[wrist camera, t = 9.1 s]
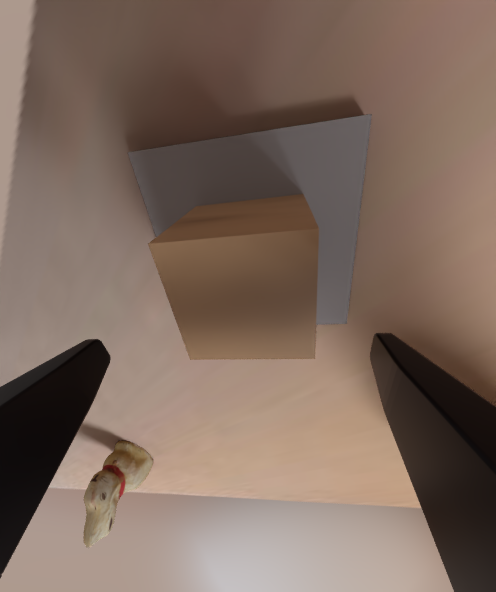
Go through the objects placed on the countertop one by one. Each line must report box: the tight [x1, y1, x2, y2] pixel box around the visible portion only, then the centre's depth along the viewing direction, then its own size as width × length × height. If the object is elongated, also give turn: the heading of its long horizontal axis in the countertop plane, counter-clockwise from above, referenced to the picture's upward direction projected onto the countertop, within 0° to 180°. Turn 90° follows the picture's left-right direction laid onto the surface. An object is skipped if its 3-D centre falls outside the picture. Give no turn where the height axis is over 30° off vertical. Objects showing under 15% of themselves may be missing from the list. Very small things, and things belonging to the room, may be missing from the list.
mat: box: [128, 114, 372, 325], centre depth 15 cm, size 12×12×1 cm
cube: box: [148, 194, 319, 360], centre depth 12 cm, size 6×6×6 cm
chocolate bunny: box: [84, 441, 153, 548], centre depth 31 cm, size 6×8×10 cm
